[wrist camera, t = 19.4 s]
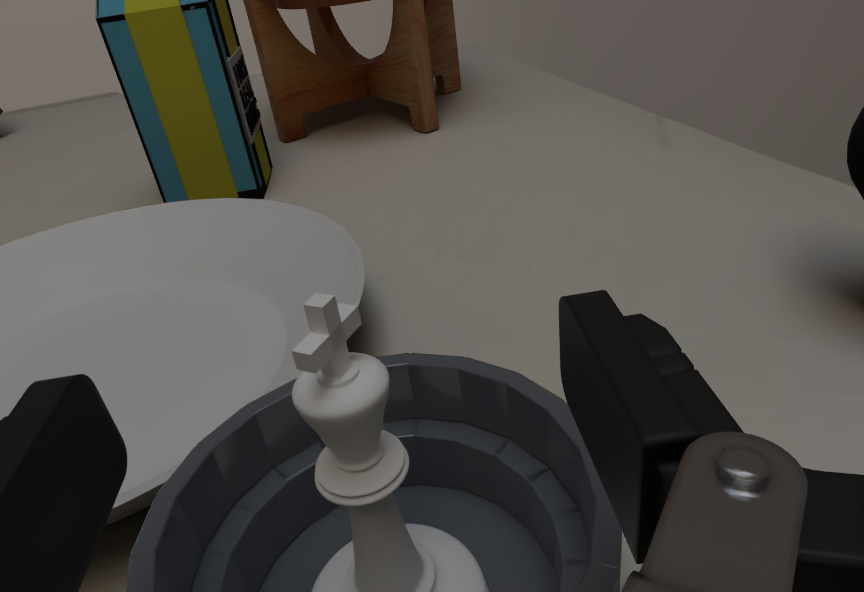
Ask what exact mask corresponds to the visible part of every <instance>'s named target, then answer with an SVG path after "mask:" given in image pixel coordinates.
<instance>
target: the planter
mask: <svg viewBox="0 0 864 592" xmlns="http://www.w3.org/2000/svg"><path fill="white" fill-rule="evenodd" d="M243 1H244V5H245V8H246V12H247V15H248V19H249V23H250V27H251V30H252V34H253V38H254V42H255V46H256V50H257V54H258V58H259V61H260V65H261V69H262V73H263V77H264V81H265V85H266V89H267V93H268V96H269V100H270V104H271V108H272V112H273V116H274V120H275V124H276V127H277V131H278V135H279V139H280V140H282V141H284V142H286V143H288V142H291V141H294V140H297V139H301V138H304V137H306V131H305V127H304V123H303V116H304V115H305V114H308V113H311V112H315V111H318V110H322V109H325V108H329V107H332V106H335V105H339V104H342V103H346V102H349V101H352V100H356V99H359V98H363V97H366V96H369V95H370V96H374V97H377V98H381V99H384V100H388V101H391V102H395V103H398V104H402V105H405V106H408V107H409V108H410V113H411V120H412V126H413V129H414V130H417V131H420V132H423V133H427V132H430V131H433V130H436V129H438V128H439V125H438V117H437V108H436V100H435V92H434V84H433V77H435V79H436V87H437V92H440V93H444V94H447V93H450V92H454V91H457V90H460V89H461V80H460V70H459V60H458V50H457V41H456V31H455V21H454V12H453V2H452V0H393V18H392V27H391V33H390V37H389V41H388V44H387V47H386V49H385V51H384V53H383V54H381V55H379V56H377V57H375V58H373V59H370V60H369V59H367V58H365V57H363V56H362V55H360V54H359V53H358V52H357V51H356V50H355V49H354V48H353V47H352V46H351V45H350V44H349V42H348V41H347V40H346V38H345V37H344V35H343V33H342V32H341V30H340V28H339V26H338V24H337V22H336V20H335V18H334V16H333V13H332V11H331V8H330V6H337V5H345V4H352V3H358V2H364V1H370V0H243ZM276 7H277V8H279V9H306V11H307V16H308V20H309V25H310V30H311V34H312V39H313V44H314V49H315V53H316V55H315V54H314V53H312V52H311V51H309V50H308V49H307V48H305V47H304V46H303V45H302V44H301V43H300V42H299V41H298V40H297V39H296V38H295V36H294V35H293V34H292V32H291V31H290V30H289V28H288V27H287V25H286V24H285V22H284V21H283V19H282V17H281V15H280V14H279V12H278V10H277V8H276Z"/></svg>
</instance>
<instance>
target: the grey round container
mask: <svg viewBox="0 0 864 592" xmlns="http://www.w3.org/2000/svg"><path fill="white" fill-rule="evenodd" d="M374 358H376V359H378V360H379V361H381V362H382V363H383V364H384V366H385V367H386V369H387V370H388V373H389V378H390V387H389V394H388V400H387V403H386V406H385V410H384V415H383V427H382V430H384V431H387V432H389V433H391V434H393V435H395V436H396V437H397V438H398V439H399V440H400V441H401V443H402V445H403V446H404V447H405V449H406V450H407V453H408V456H409V469H408V473H407V475H406V477H405V479H404V481H403V482H402V483H401V485H400V486H399V487H398V488H397V489H396V490H395V491H394V492H392V493H393V496H394V499H395V501H396V504H397V506H398V509H399V511H400V514H401V516H402V518H403V521H404V523H405V524H420V525H426V526H430V527H434V528H436V529H439V530H442V531H444V532H446V533H448V534H450V535H451V536H453V537H454V538H456V539H457V540H459V541H460V542H461V543H462V544H463V545H464V546H465V547H466V548H467V549H468V550H469V551H470V552H471V553H472V555H473V556H474V558H475V559H476V561H477V563H478V564H479V566H480V569H481V571H482V573H483V577H484V579H485V581H486V584H487V587H488V590H489V592H620V569H621V545H622V529H621V526H620V524H619V522H618V520H617V517H616V515H615V513H614V510H613V508H612V506H611V503H610V501H609V499H608V496H607V494H606V492H605V489H604V487H603V485H602V482H601V480H600V478H599V475H598V473H597V471H596V468H595V466H594V464H593V461H592V459H591V457H590V455H589V452H588V450H587V448H586V445H585V443H584V441H583V438H582V436H581V434H580V431H579V429H578V427H577V424H576V422H575V420H574V417H573V415H572V413H571V410H570V408H569V406H568V404H567V403H566V402H564V400H563V399H561V398H559V397H558V396H556V395H555V394H553V393H551V392H550V391H548V390H546V389H545V388H543V387H541V386H540V385H538V384H536V383H535V382H533V381H532V380H530V379H528V378H527V377H525V376H523V375H522V374H520V373H517V372H515V371H511V370H508V369H505V368H501V367H498V366H495V365H491V364H488V363H485V362H481V361H478V360H474V359H471V358H468V357H466V358H465V357H461V356H447V355H433V354H419V353H411V354H409V353H404V354H396V355H388V356H380V357H374ZM296 380H297V378H295V379H293V380H291V381H289V382H288V383H286V384H284V385H282V386H280V387H278V388H276V389H274V390H272V391H271V392H269V393H267V394H265V395H263V396H261V397H259V398H257V399H255V400H254V401H252V402H250V403H248V404H246V405H245V407H242V408H241V409H239V410H238V411H237V412H236V413H234V414H233V415H232V416H231V417H229V418H228V419H227V420H226V421H224V422H223V423H222V424H221V425H220V426H218V427H217V428H216V429H215V430H213V431H212V432H211V433H210V434H208V435H207V436H206V437H205V438H203V439H202V440H201V441H200V442H199V443H197V445H196V446H195V447H194V448H193V449H192V450H191V451H190V453H189V454H188V455H187V456H186V458H185V459H184V460H183V461H182V463H181V464H180V465H179V466H178V468H177V469H176V470H175V472H174V473H173V474H172V475H171V477H170V478H169V479H168V480H167V482H166V483H165V484H164V485H163V487H162V488H161V489H160V490H159V492H158V493H157V495H156V497H155V498H154V500H153V502H152V505H151V507H150V509H149V512H148V514H147V516H146V519H145V521H144V523H143V526H142V528H141V530H140V533H139V535H138V537H137V540H136V542H135V544H134V547H133V549H132V551H131V554H130V558H129V567H128V583H127V592H311V591H312V589H313V586H314V584H315V582H316V580H317V578H318V576H319V575H320V573H321V571H322V570H323V568H324V567H325V566H326V564H327V563H328V562H329V560H330V559H331V558H332V557H333V556H334V555H335V554H336V553H337V552H338V551H339V550H340V549H342V548H343V547H344V546H345V545H347V544H348V543H349V542H351V541H352V540H353V539H352V530H351V521H350V514H349V508H348V506H342V505H338V504H335V503H332V502H330V501H329V500H327V499H326V498H324V497H323V496H322V495H321V494H320V492H319V491H318V489H317V487H316V484H315V466H316V462H317V459H318V457H319V455H320V453H321V452H322V450H323V449H324V448H325V447H326V445H325V444H324V443H323V441H322V440H321V438H320V436H319V435H318V434H317V433H316V431H315V430H314V429H313V428H312V427H311V426H309V425H308V424H307V423H306V421H305V420H304V419H303V418H302V417H301V415H300V414H299V413H298V411H297V410H296V408H295V406H294V404H293V400H292V389H293V386H294V383H295V381H296Z"/></svg>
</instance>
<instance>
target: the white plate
mask: <svg viewBox="0 0 864 592" xmlns="http://www.w3.org/2000/svg"><path fill="white" fill-rule="evenodd" d="M364 281H365V267H364V260H363V257H362V253H361V251H360V248H359V247H358V245H357V243H356V241H355V240H354V238H353V237H352V236H351V235H350V234H349V233H348V232H347V231H346V230H345V229H344V228H343V227H342V226H341V225H339V224H338V223H337V222H335V221H334V220H332V219H330V218H328V217H327V216H325V215H322V214H320V213H318V212H316V211H313V210H310V209H307V208H304V207H301V206H297V205H293V204H288V203H283V202H277V201H270V200H260V199H244V198H218V199H199V200H187V201H178V202H170V203H162V204H156V205H149V206H143V207H138V208H132V209H127V210H122V211H118V212H113V213H108V214H104V215H100V216H96V217H92V218H88V219H84V220H80V221H76V222H73V223H69V224H65V225H62V226H59V227H55V228H52V229H49V230H45V231H42V232H39V233H36V234H33V235H30V236H27V237H24V238H21V239H18V240H15V241H12V242H9V243H7V244H4V245H1V246H0V420H1V419H2V418H4V417H5V416H8V415H9V414H10V413H11V411H12V410H13V408H14V407H15V405H16V404H17V402H18V401H19V400H20V398H21V397H22V395H23V394H24V392H25V391H26V390H27V388H28V387H29V386H30V385H31V384H32V383H33V382H36V381H40V380H46V379H52V378H59V377H65V376H71V375H77V374H85V375H87V376H88V377H89V378H91V380H92V381H93V382H94V384H95V386H96V388H97V390H98V391H99V393H100V395H101V397H102V399H103V401H104V403H105V405H106V407H107V409H108V411H109V413H110V415H111V417H112V419H113V421H114V423H115V425H116V426H117V428H118V430H119V432H120V434H121V436H122V438H123V440H124V443H125V446H126V451H127V471H126V476H125V478H124V481H123V483H122V486H121V488H120V491H119V493H118V496H117V498H116V500H115V503H114V505H113V508H112V510H111V512H110V515H109V517H108V520H107V522H106V525H105V526H107V525H109V524H112V523H114V522H117V521H119V520H121V519H124V518H126V517H128V516H130V515H132V514H135V513H137V512H139V511H141V510H143V509H145V508H147V507H149V506H151V505H152V502H153V500H154V498H155V497H156V495H157V493H158V492H159V490H160V489H161V488H162V487H163V485H164V484H165V483H166V482H167V480H168V479H169V478H170V477H171V475H172V474H173V473H174V472H175V470H176V469H177V468H178V466H179V465H180V464H181V463H182V461H183V460H184V459H185V458H186V456H187V455H188V454H189V453H190V451H191V450H192V449H193V448H194V447H195V446H196V445H197V443H199V442H200V441H201V440H202V439H203V438H205V437H206V436H207V435H208V434H210V433H211V432H212V431H213V430H215V429H216V428H217V427H218V426H220V425H221V424H222V423H223V422H224V421H226V420H227V419H228V418H229V417H231V416H232V415H233V414H234V413H236V412H237V411H238V410H239V409H241V408H242V407H245V405H246V404H248V403H250V402H252V401H254V400H255V399H257V398H259V397H261V396H263V395H265V394H267V393H269V392H271V391H272V390H274V389H276V388H278V387H280V386H282V385H284V384H286V383H288V382H289V381H291V380H293V379H295V378H298V377H299V375H300V374H301V373H302V372H303V371H301V370H297V368H296V364H295V361H294V358H293V354H292V350H293V349H294V348H295V347H296V346H297V345H298V344H299V343H300V342H301V341H302V340H303V339H304V338H305V337H306V336H307V335H308V334H309V333H310V328H309V324H308V321H307V317H306V314H305V310H304V306H303V304H304V303H305V302H306V301H308V300H309V299H310V298H311V297H312V296H313V295H314V294H315V293H322V294H328V295H335V298H336V302H337V305H338V304H339V303H343V304H350V305H356V306H358V305H359V302H360V299H361V296H362V292H363V288H364Z"/></svg>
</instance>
